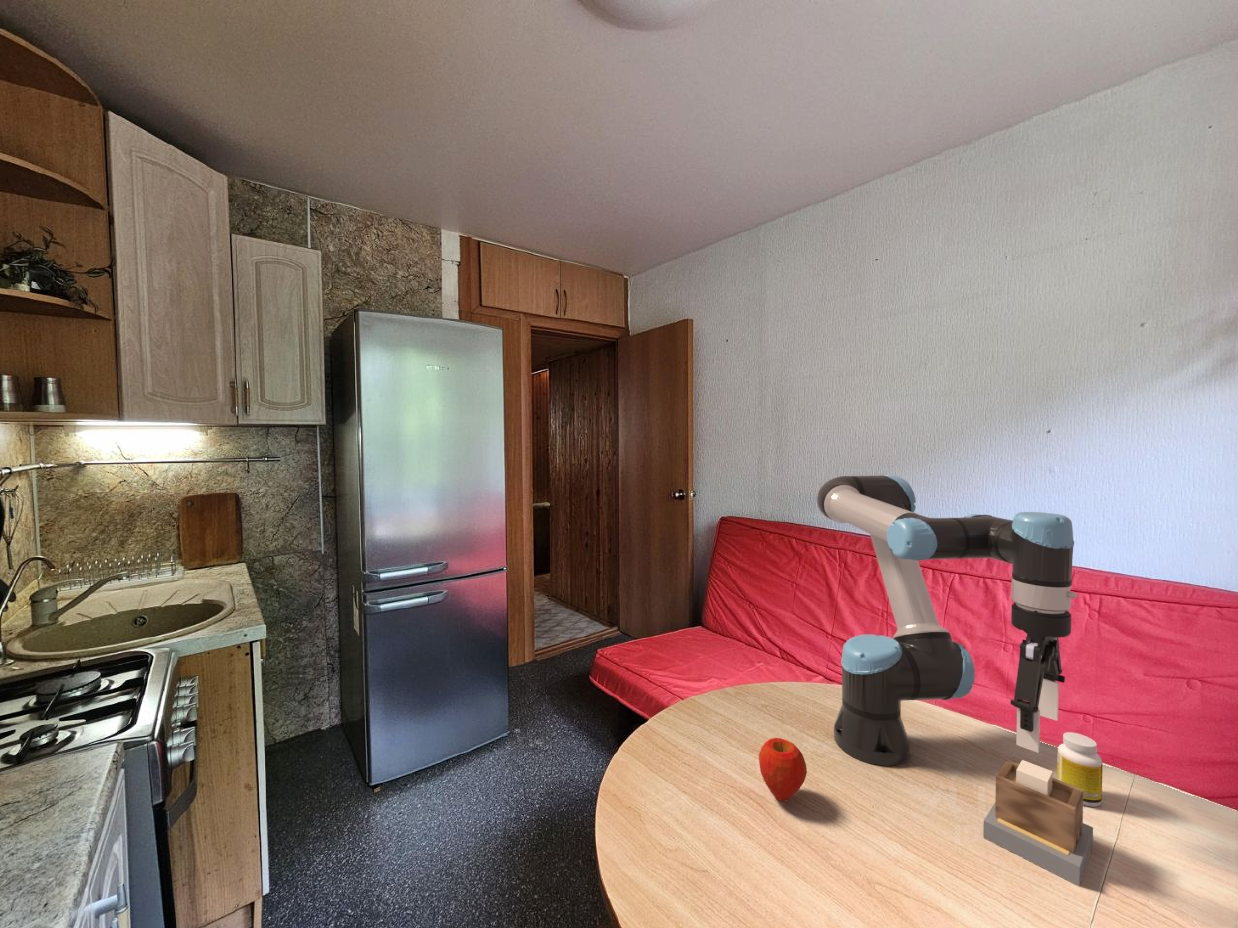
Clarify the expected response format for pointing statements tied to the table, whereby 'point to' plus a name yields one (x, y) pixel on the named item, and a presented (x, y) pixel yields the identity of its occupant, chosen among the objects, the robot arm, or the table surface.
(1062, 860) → the dock
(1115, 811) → the table surface
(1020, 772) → the block
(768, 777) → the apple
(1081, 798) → the stained wood crate
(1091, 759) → the pill bottle
